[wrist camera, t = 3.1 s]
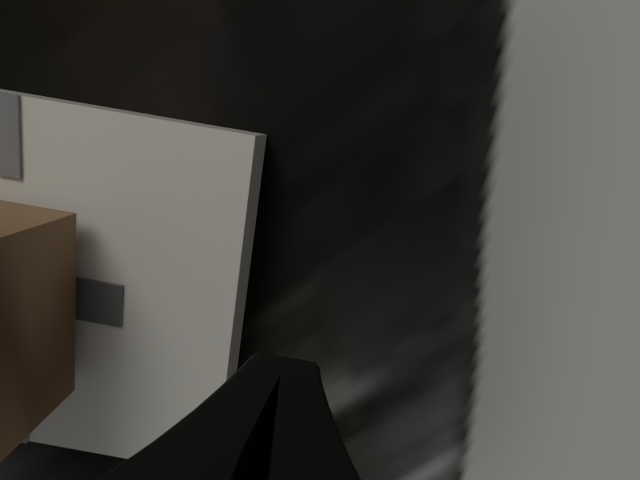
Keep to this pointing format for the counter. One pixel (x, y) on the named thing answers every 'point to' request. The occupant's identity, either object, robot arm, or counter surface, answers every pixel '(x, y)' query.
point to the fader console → (139, 257)
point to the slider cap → (35, 316)
